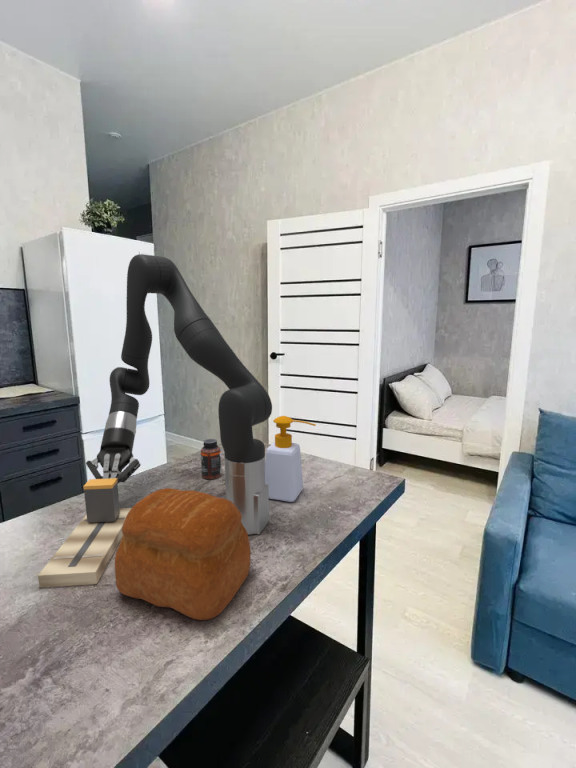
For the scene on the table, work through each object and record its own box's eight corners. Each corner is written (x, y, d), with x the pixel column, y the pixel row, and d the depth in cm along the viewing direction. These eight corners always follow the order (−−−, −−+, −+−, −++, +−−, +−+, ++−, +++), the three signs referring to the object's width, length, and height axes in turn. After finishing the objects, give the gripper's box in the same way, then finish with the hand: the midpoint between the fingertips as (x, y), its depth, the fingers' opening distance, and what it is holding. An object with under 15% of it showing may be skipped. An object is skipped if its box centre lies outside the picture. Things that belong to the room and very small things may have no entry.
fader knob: (93, 514, 91) (89, 479, 90) (120, 513, 92) (117, 478, 90) (87, 522, 88) (83, 486, 86) (115, 521, 88) (112, 485, 87)
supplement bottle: (225, 474, 121) (224, 439, 119) (214, 481, 116) (212, 445, 114) (209, 470, 124) (208, 436, 122) (197, 477, 119) (196, 442, 117)
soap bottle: (310, 507, 101) (311, 424, 97) (260, 498, 105) (259, 419, 101) (319, 491, 110) (320, 414, 106) (273, 484, 114) (272, 410, 110)
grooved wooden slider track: (90, 519, 95) (89, 509, 94) (133, 517, 96) (132, 507, 95) (39, 587, 71) (37, 575, 71) (96, 584, 72) (95, 571, 72)
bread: (168, 545, 85) (164, 472, 82) (258, 568, 77) (257, 488, 74) (104, 599, 69) (96, 511, 66) (210, 636, 61) (206, 537, 58)
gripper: (88, 426, 98) (71, 495, 88) (142, 425, 99) (131, 492, 89) (97, 440, 104) (83, 505, 94) (149, 438, 105) (139, 502, 95)
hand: (107, 499), depth 92 cm, fingers closed
